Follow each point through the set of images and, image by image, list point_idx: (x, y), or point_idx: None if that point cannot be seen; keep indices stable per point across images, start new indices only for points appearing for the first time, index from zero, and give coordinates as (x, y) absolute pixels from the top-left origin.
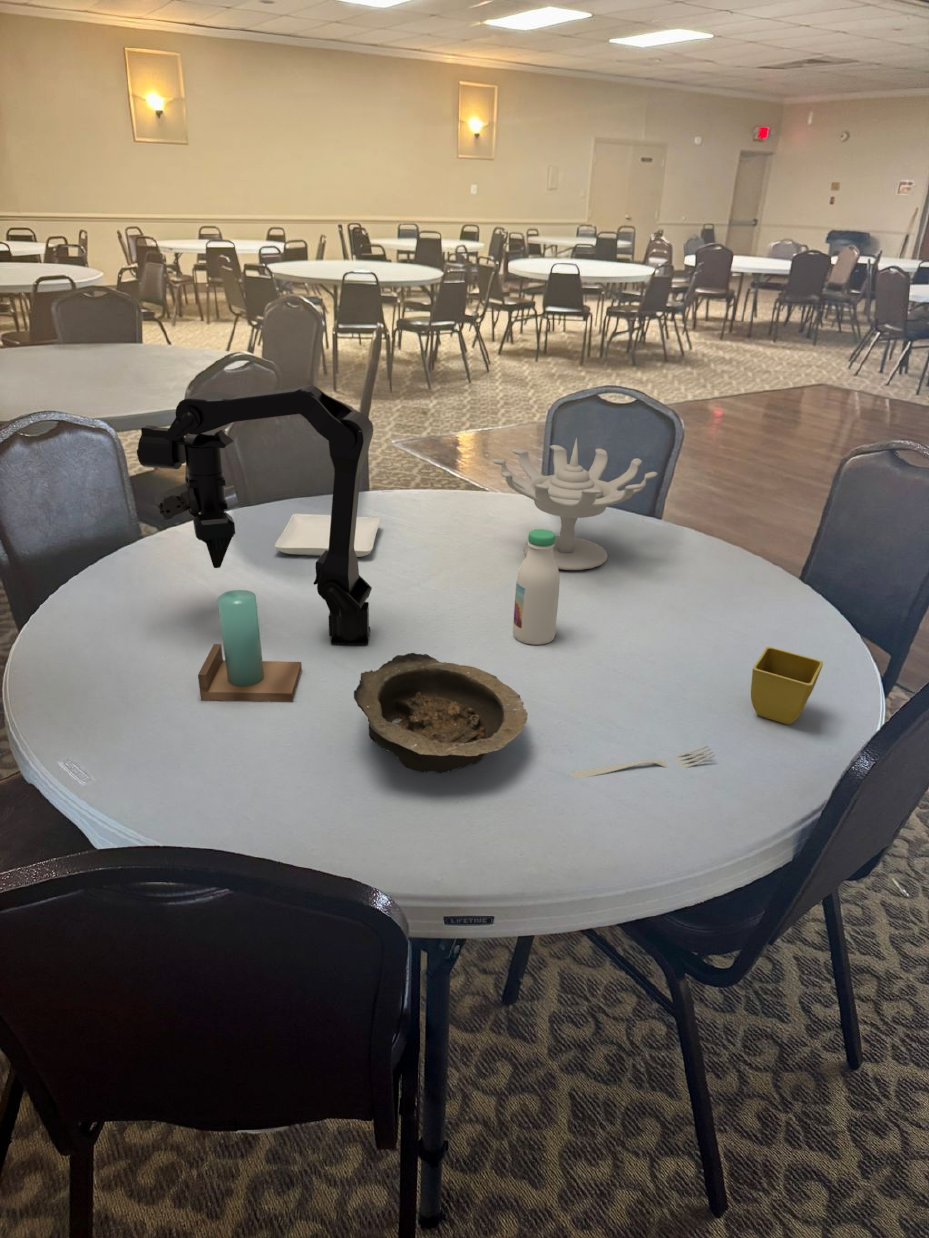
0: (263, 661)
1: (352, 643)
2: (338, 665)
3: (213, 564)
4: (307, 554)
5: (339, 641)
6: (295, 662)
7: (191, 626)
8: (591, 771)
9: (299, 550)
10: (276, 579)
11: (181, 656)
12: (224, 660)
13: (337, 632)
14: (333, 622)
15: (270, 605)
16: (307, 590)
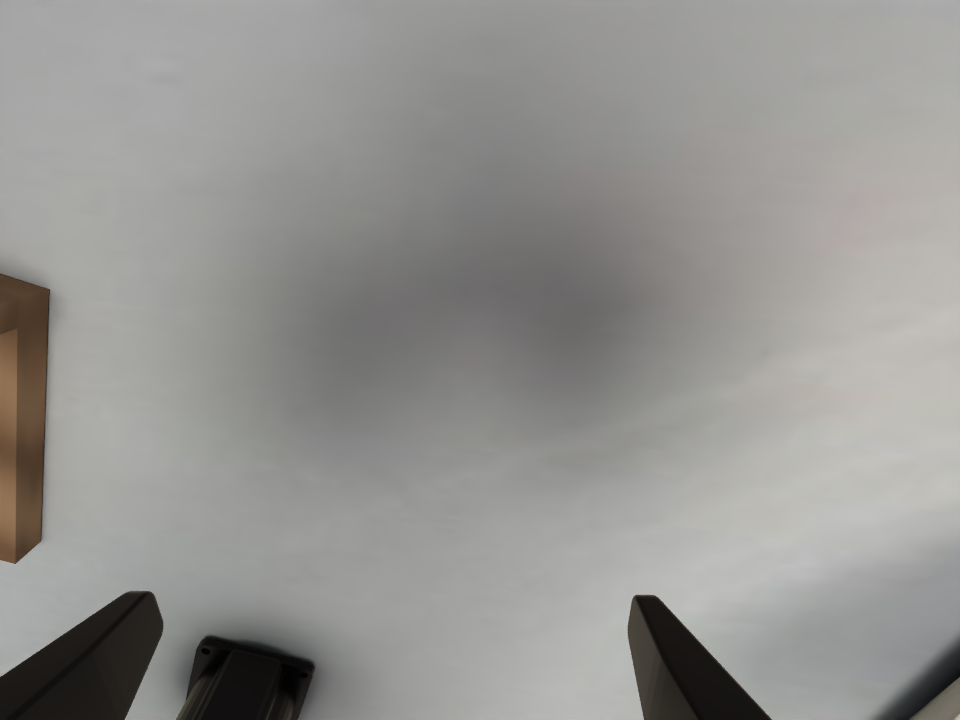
0: (12, 462)
1: (190, 684)
2: (72, 626)
3: (84, 624)
4: (929, 704)
5: (201, 662)
6: (9, 548)
7: (459, 230)
8: None
9: (948, 708)
10: (780, 585)
11: (162, 156)
12: (14, 333)
13: (209, 684)
14: (195, 713)
15: (557, 534)
16: None
